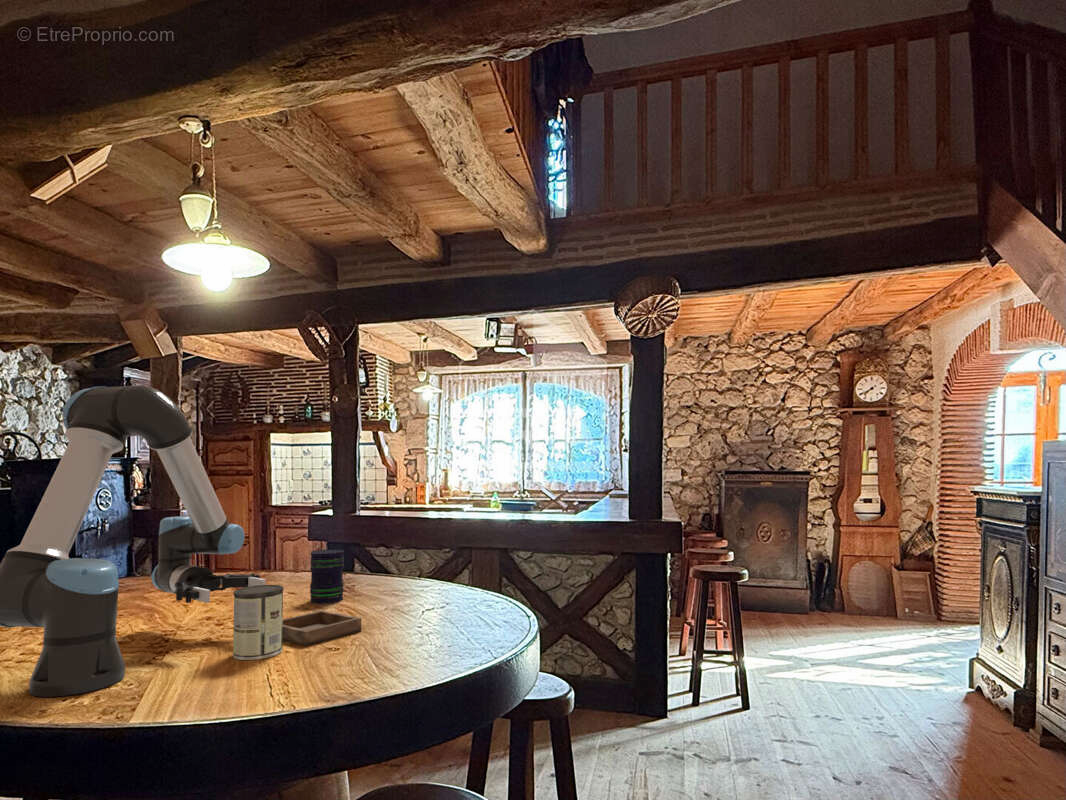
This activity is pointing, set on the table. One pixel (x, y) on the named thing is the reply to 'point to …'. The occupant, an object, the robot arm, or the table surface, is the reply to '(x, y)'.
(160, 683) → the table surface
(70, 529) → the robot arm
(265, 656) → the coffee can
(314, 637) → the wooden tray
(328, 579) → the dark barrel
